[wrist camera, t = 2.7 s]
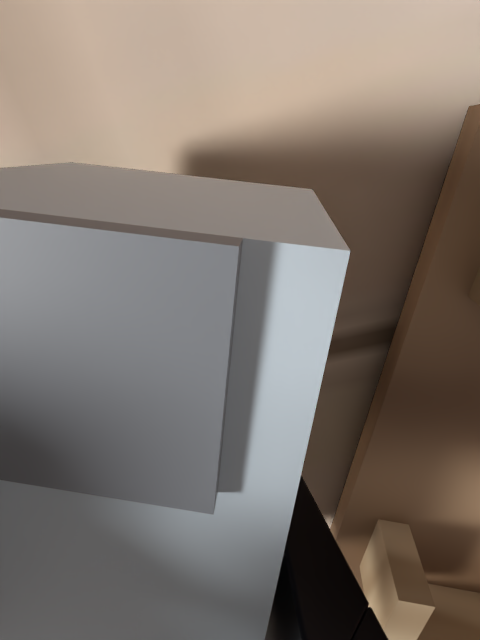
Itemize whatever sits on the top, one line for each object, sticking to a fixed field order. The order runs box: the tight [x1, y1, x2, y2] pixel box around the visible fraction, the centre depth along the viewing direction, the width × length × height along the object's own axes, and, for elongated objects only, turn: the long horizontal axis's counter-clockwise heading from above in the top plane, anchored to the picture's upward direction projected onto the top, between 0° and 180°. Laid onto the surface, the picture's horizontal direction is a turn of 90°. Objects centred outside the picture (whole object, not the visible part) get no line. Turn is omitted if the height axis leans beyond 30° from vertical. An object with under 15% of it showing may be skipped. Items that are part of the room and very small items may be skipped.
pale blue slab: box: [0, 162, 350, 640], centre depth 8 cm, size 12×5×5 cm, turn 175°
